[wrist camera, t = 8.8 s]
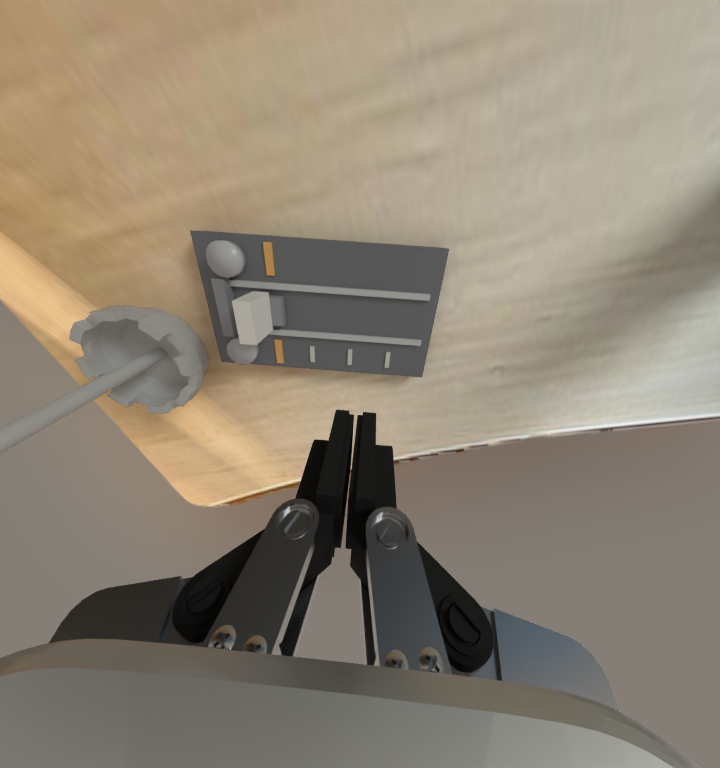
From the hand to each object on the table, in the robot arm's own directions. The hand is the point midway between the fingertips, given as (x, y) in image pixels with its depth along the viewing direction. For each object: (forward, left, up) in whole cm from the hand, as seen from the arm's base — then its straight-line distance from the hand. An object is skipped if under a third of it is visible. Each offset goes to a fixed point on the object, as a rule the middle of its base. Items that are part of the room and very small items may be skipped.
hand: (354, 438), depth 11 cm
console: (+5, 0, -22) cm, 22 cm away
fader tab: (+11, 0, -19) cm, 22 cm away
